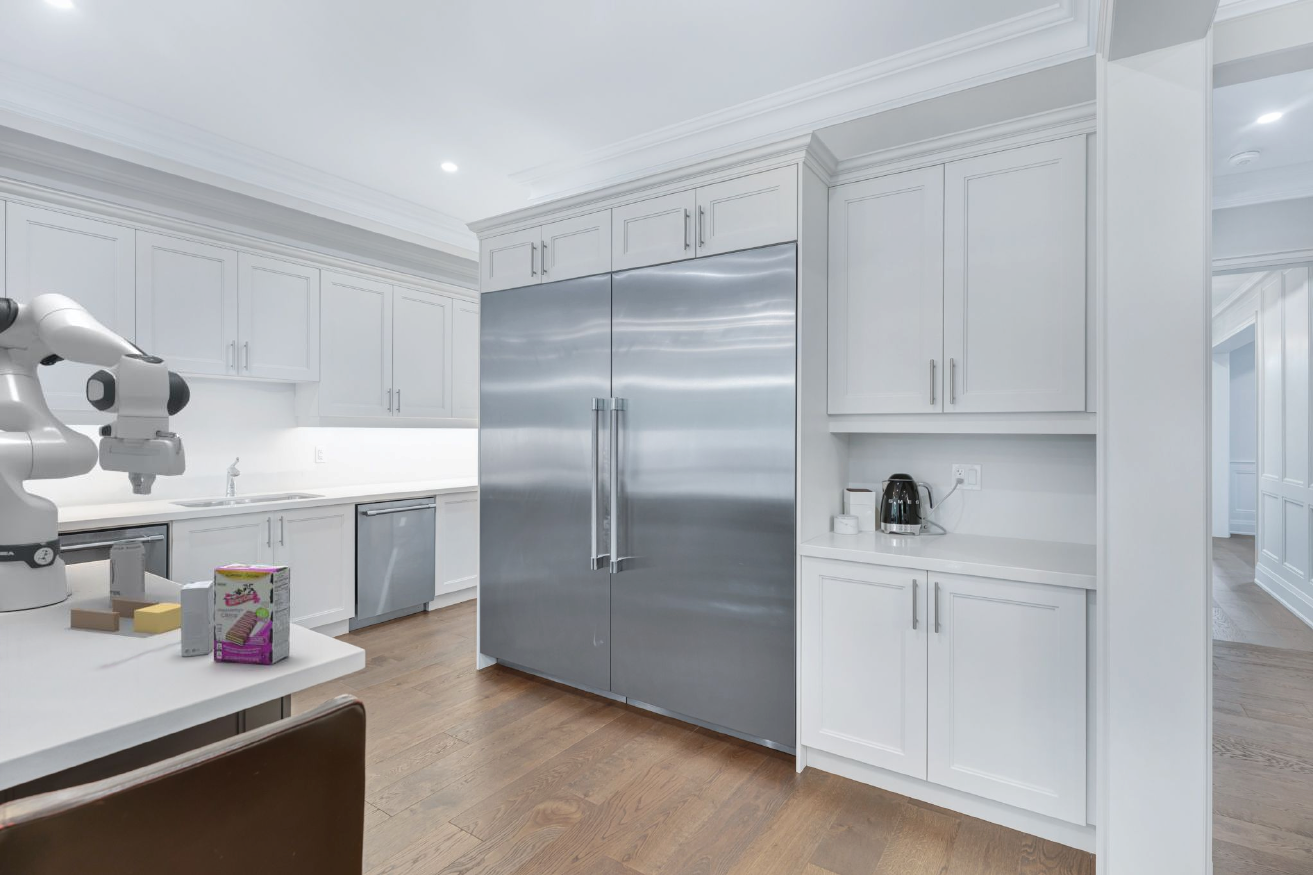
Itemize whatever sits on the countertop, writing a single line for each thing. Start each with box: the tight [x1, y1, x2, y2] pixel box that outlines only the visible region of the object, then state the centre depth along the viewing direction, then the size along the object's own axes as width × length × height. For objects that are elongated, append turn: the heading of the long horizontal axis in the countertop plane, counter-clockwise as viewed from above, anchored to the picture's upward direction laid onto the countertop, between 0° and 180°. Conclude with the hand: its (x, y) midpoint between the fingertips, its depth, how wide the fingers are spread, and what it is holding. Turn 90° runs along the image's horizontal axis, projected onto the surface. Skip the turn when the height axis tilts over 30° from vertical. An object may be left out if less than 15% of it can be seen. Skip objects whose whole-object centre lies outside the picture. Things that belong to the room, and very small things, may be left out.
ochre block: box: [134, 602, 181, 635], centre depth 128 cm, size 6×6×4 cm
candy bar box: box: [213, 562, 291, 665], centre depth 114 cm, size 11×5×16 cm, turn 84°
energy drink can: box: [109, 539, 146, 609], centre depth 144 cm, size 6×6×15 cm
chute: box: [65, 598, 171, 639], centre depth 130 cm, size 20×11×4 cm, turn 76°
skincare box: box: [180, 580, 214, 657], centre depth 118 cm, size 6×4×12 cm
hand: (141, 494), depth 140 cm, fingers closed
